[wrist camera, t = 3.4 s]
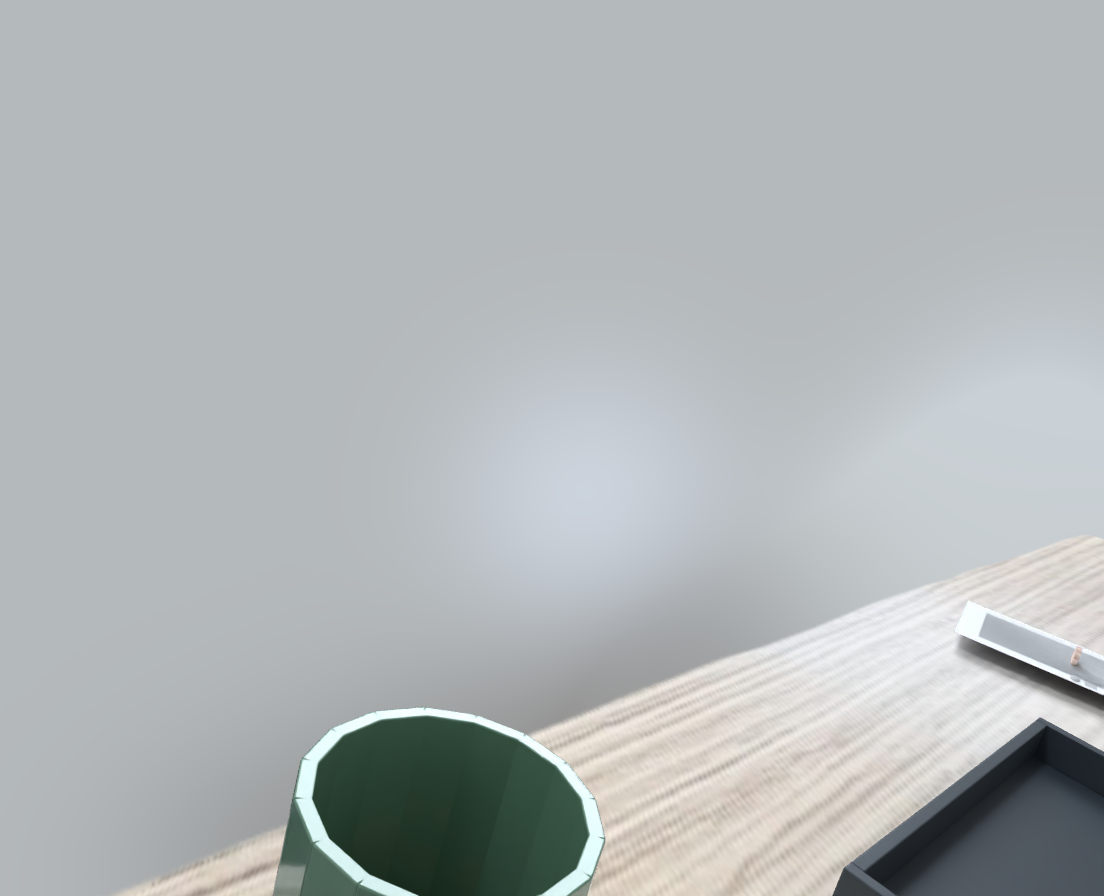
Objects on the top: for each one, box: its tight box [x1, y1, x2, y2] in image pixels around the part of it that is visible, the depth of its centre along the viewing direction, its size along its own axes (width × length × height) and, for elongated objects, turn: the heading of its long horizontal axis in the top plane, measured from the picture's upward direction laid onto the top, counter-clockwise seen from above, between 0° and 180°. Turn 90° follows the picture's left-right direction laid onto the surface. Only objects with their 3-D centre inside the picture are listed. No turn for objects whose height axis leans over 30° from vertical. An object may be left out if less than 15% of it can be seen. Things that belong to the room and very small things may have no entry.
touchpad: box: [955, 601, 1104, 695], centre depth 67 cm, size 8×15×2 cm, turn 60°
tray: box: [833, 718, 1104, 896], centre depth 42 cm, size 23×13×2 cm, turn 135°
